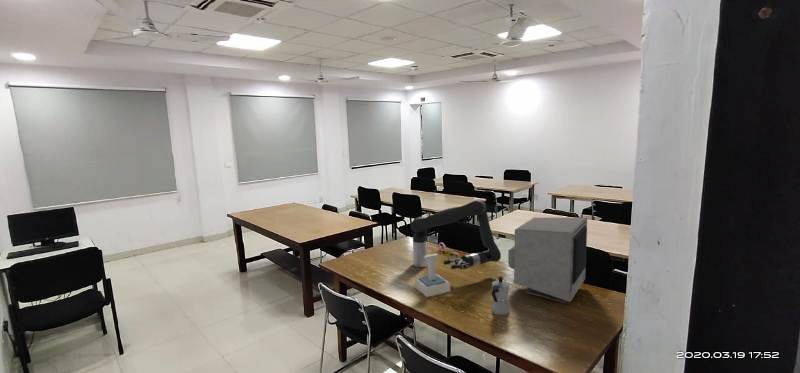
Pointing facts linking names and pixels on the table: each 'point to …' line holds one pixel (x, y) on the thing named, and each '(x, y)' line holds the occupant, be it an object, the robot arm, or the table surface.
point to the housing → (432, 288)
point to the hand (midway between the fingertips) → (447, 265)
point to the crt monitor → (550, 257)
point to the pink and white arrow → (447, 249)
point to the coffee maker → (500, 297)
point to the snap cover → (431, 272)
